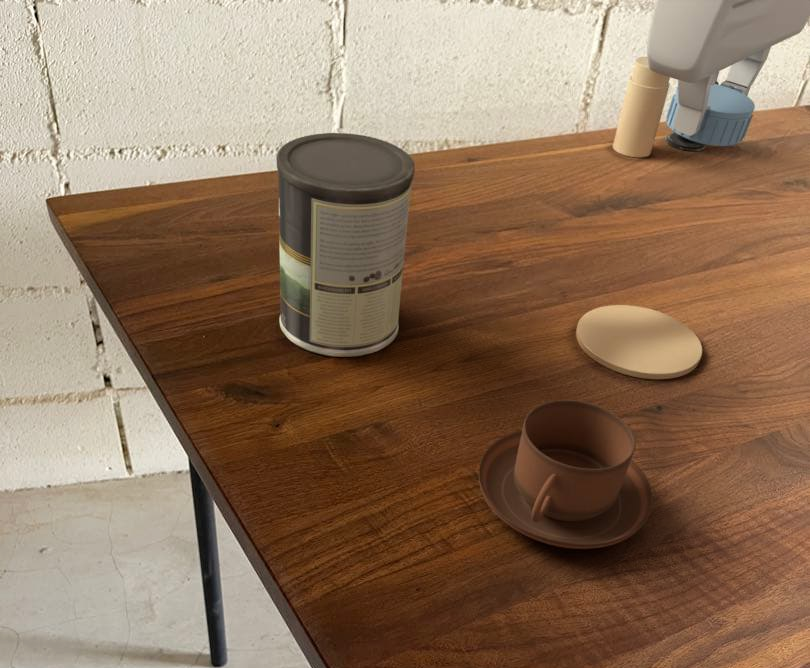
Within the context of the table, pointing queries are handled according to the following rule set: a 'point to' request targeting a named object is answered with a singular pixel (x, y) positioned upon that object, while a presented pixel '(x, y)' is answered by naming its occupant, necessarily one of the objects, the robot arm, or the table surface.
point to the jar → (641, 110)
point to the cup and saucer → (568, 477)
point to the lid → (720, 117)
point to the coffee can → (342, 241)
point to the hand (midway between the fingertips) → (707, 120)
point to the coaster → (639, 342)
